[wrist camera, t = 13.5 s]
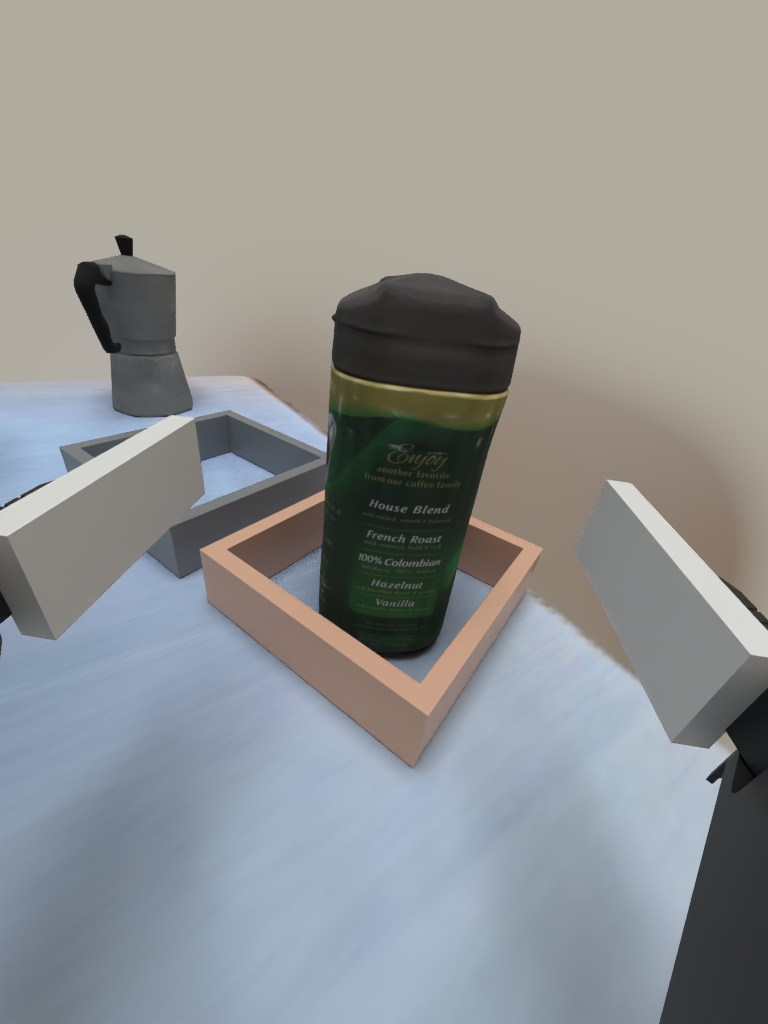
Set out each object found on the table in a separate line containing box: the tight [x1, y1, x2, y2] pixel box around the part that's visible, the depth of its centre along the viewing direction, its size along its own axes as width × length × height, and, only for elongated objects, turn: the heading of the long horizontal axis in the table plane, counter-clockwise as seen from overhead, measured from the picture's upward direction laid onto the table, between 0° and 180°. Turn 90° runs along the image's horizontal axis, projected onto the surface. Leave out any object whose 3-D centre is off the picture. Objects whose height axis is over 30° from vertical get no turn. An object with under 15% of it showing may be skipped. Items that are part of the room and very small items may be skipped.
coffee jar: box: [319, 273, 521, 653], centre depth 22 cm, size 10×8×19 cm
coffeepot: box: [74, 235, 192, 417], centre depth 45 cm, size 15×9×18 cm, turn 179°
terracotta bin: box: [200, 490, 543, 768], centre depth 25 cm, size 15×15×4 cm
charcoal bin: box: [59, 410, 327, 578], centre depth 34 cm, size 15×15×4 cm
